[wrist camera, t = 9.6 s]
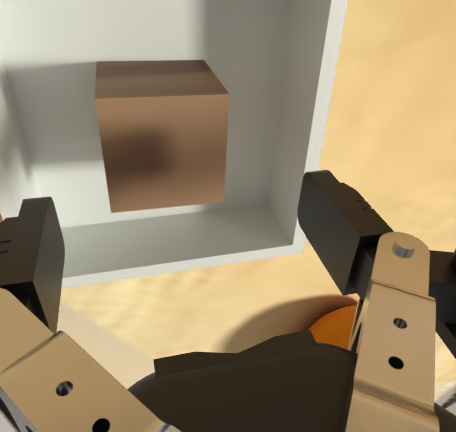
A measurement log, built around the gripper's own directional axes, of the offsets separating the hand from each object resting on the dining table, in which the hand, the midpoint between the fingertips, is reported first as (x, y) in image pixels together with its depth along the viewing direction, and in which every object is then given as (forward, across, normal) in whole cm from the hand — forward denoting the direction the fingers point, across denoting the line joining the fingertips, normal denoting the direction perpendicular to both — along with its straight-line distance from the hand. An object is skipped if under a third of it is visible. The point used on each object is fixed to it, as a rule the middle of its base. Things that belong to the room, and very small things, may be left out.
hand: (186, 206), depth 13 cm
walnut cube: (+9, 0, 0) cm, 9 cm away
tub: (+10, 0, 0) cm, 10 cm away
